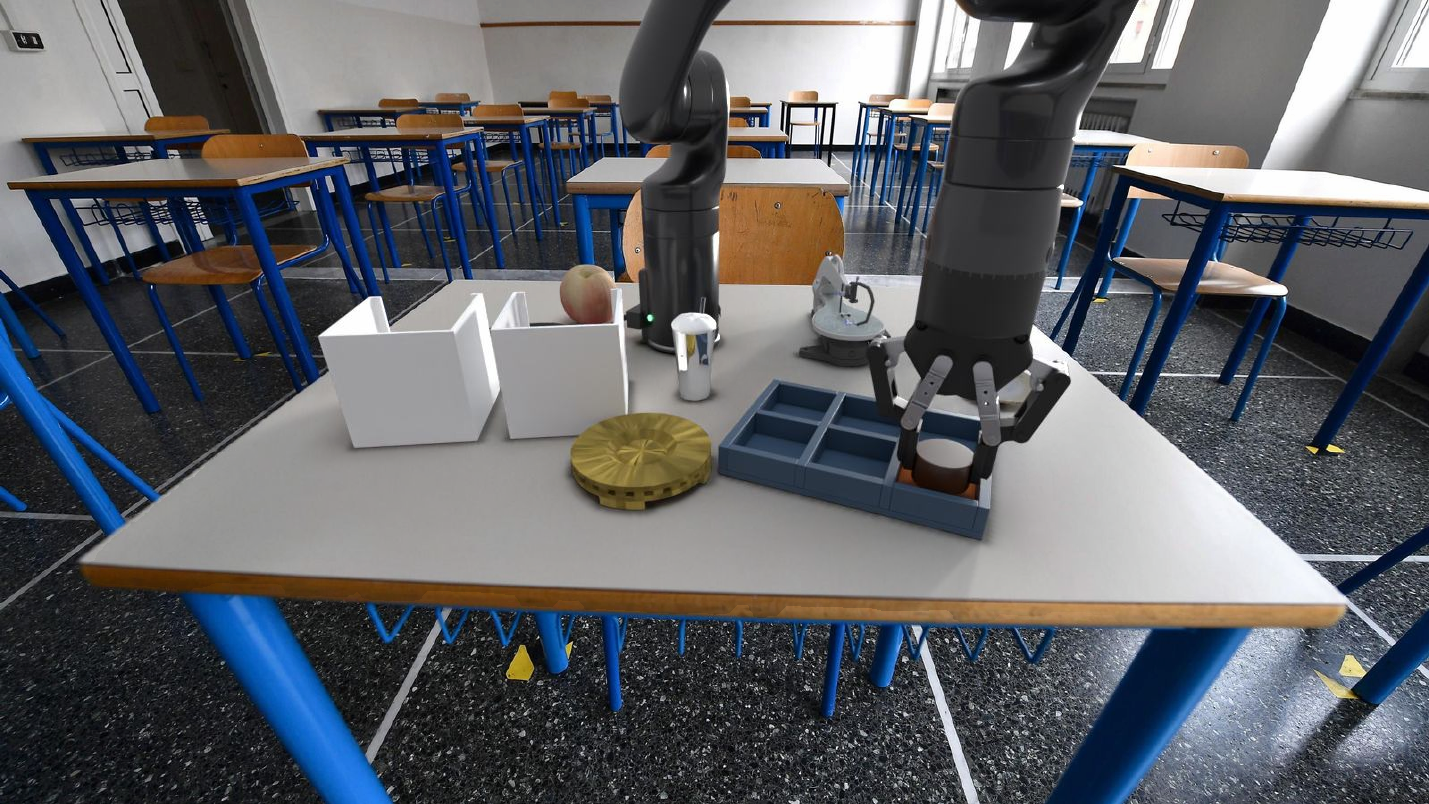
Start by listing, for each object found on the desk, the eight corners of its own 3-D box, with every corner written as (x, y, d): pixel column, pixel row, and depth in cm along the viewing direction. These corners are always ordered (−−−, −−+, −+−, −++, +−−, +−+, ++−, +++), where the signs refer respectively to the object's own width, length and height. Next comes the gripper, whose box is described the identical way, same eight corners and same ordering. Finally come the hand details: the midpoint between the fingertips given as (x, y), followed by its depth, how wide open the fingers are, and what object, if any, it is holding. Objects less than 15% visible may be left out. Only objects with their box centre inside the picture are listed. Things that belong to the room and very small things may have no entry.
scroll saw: (786, 241, 83) (868, 241, 84) (782, 314, 88) (859, 313, 89) (811, 282, 66) (915, 282, 66) (804, 370, 71) (900, 369, 71)
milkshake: (723, 385, 67) (724, 299, 62) (707, 407, 62) (707, 315, 58) (685, 380, 68) (683, 295, 64) (667, 400, 64) (663, 310, 59)
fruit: (564, 335, 81) (556, 277, 77) (563, 315, 88) (556, 261, 84) (623, 330, 82) (619, 273, 79) (617, 311, 89) (613, 258, 86)
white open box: (354, 447, 55) (317, 336, 50) (396, 394, 65) (369, 296, 60) (627, 432, 58) (618, 324, 53) (628, 383, 67) (621, 288, 62)
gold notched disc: (551, 459, 54) (547, 438, 53) (664, 420, 60) (663, 401, 59) (614, 529, 45) (612, 506, 44) (739, 475, 51) (739, 454, 50)
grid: (718, 473, 52) (718, 445, 50) (772, 402, 63) (773, 378, 62) (981, 540, 44) (990, 509, 43) (988, 445, 56) (995, 419, 54)
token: (907, 487, 47) (912, 460, 45) (914, 459, 50) (919, 433, 49) (967, 501, 45) (973, 474, 44) (970, 471, 49) (976, 445, 47)
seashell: (966, 422, 63) (1050, 413, 61) (966, 399, 62) (1052, 389, 59) (954, 377, 70) (1030, 368, 67) (953, 355, 68) (1030, 345, 66)
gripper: (1103, 252, 40) (1039, 467, 48) (885, 234, 45) (859, 431, 53) (1119, 281, 34) (1043, 523, 42) (865, 257, 39) (840, 475, 47)
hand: (940, 470), depth 47 cm, fingers closed on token, 4 cm apart
